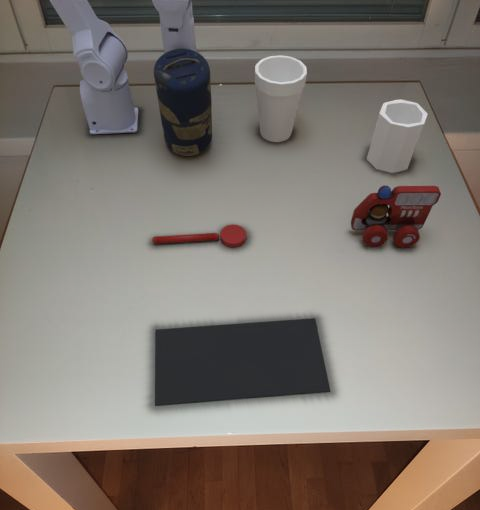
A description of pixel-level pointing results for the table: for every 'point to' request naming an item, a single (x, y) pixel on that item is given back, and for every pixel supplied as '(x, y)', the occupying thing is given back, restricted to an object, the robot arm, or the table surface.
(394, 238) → the toy fire truck
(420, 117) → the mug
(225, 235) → the spoon
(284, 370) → the placemat
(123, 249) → the table surface
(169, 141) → the canister
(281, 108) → the foam cup
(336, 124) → the table surface
